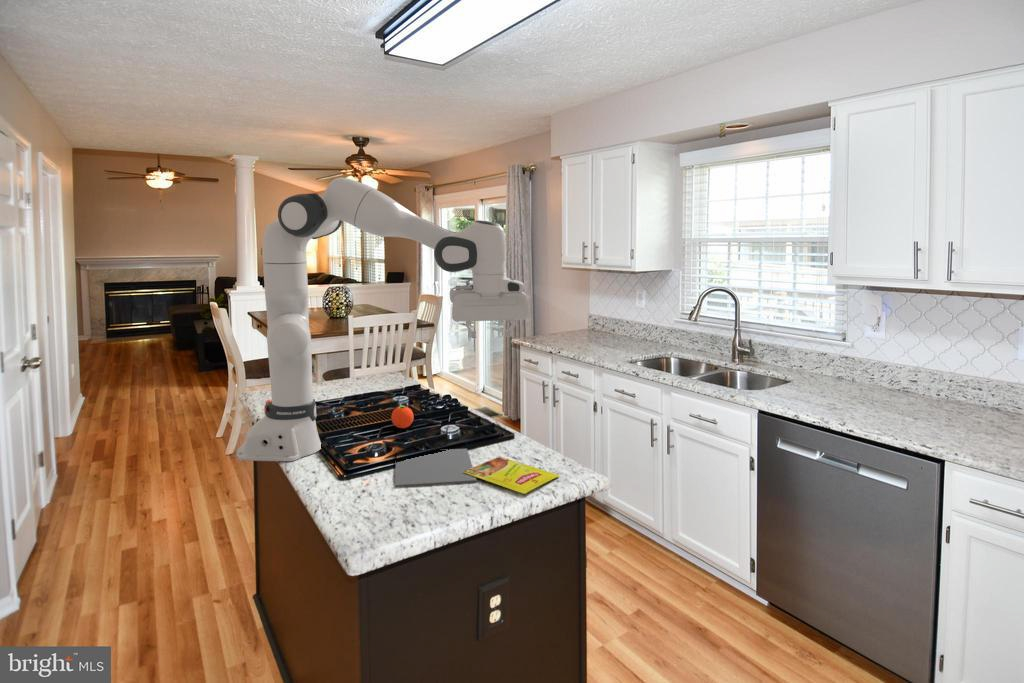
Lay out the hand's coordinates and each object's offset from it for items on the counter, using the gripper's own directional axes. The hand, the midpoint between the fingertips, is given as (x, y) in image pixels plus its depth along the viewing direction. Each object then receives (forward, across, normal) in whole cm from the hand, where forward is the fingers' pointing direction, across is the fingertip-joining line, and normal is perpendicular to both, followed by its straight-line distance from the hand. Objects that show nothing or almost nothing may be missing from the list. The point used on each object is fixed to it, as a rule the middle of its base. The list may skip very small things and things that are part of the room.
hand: (491, 337), depth 163 cm
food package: (+34, -4, -4) cm, 34 cm away
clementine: (+34, -28, +29) cm, 53 cm away
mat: (+34, -16, -4) cm, 38 cm away
